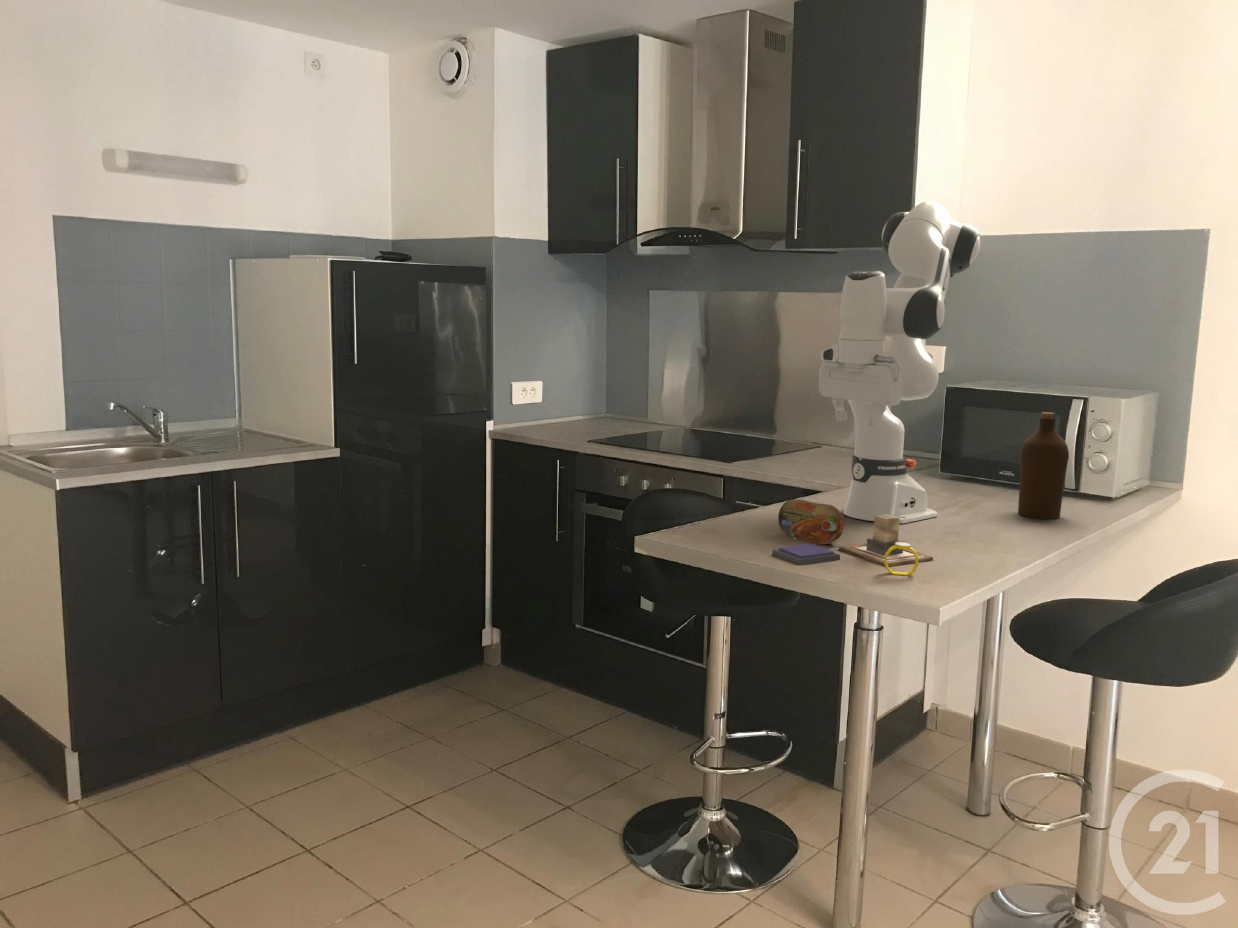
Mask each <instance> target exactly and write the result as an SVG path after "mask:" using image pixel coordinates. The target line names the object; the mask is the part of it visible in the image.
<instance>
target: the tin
mask: <svg viewBox="0 0 1238 928" xmlns="http://www.w3.org/2000/svg"><path fill="white" fill-rule="evenodd" d="M777 519H778V525H779V527H780V529H781V531H782V533H783V534H784V535H785V536H786V537H788V538H790V537H791V538H790V539H793V538H796V539H795V540H798V541H802V542H803V541H804V542H808V543H811V544H817V545H827V544H830V543H831V544H832V543H834V542H836V541H837V540H839V538H840V537H841V536H842V535H843V531H844V517H843V515H842V513H841V512H840V510H839V508H837V507H835V506H833V505H832V504H827V503H820V502H816V501H809V500H804V499H790V500H787V501H785V502H784V503H783V504H782V505H781V507H780V509H779V511H778V516H777Z"/></svg>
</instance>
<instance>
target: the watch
mask: <svg viewBox="0 0 1238 928" xmlns="http://www.w3.org/2000/svg"><path fill="white" fill-rule="evenodd" d="M903 542H904V541H903ZM903 542H896V543H895V545H894V546H892V547H890V548H889V549H888V551H887V552H886V554H885V558H884V563H885V566H884V567H885V568H886V570H887V571H888V572H889V573H890V574H891V575H894V576H903V577H904V576H905V577H909V576H911V575H913V574H914V573H915V571H916V570H917V568H918V566H919V562H918V556H917V554H916V552H917V551H915V549H914V548H913V547H911V544H910V543H908V542H904V543H903ZM896 548H899V549H909V550H910V551H912V552H913V554H914V555H915V557H916V563H914V565H913V567H912V569H909V571H907V572H905V571H904V572H903V571H893V570H892V569H891V568H890V566H888V565H887V556H888V555H889V553H890V552H891V551H892V550H894V549H896Z"/></svg>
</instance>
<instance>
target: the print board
mask: <svg viewBox="0 0 1238 928" xmlns="http://www.w3.org/2000/svg"><path fill="white" fill-rule="evenodd" d="M837 548H838V549H837V550H838V551H840V552H844V553H847V554H850V555H852V556H856V557H858V558H861V559H864V560H866V561H869V562H873V563H876V564H878V565H881V566H884V567H886V566H885V563H884V558H885V556H884V555H881V554H878V553H875V552H872V551H869V550H866V548H867V542H866V543H865V542H864V543H858V544H852V545H842V546H838V547H837ZM915 552H916V554H917V556H918V563H922V562H929V561H930V562H931V561H934V557H933V556H930V555H928V554H924V553H920V552H918V551H915ZM915 563H916V557H915V555H914V554H913V552H912V551H910V550H909V549H903V553H900V554H892V555H888V556H887V565H888V567H894V566H900V565H907V564H908V565H909V564H915Z"/></svg>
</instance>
